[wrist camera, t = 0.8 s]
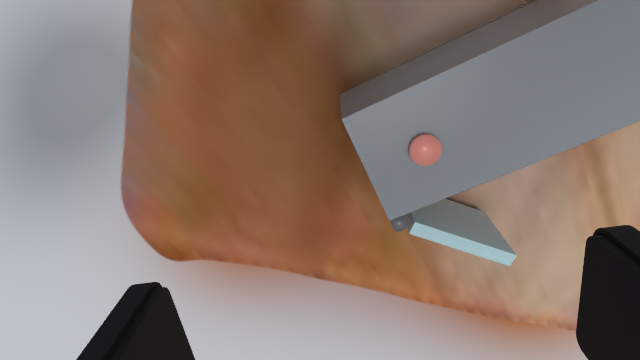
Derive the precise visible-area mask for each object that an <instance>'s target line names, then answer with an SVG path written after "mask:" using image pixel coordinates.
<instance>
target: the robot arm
mask: <svg viewBox="0 0 640 360" xmlns="http://www.w3.org/2000/svg"><path fill="white" fill-rule="evenodd" d="M576 337H577V341H578V344H579V346H580V348H581V350H582V352H583V353H584V354H585V356H586V357H587V358H588V360H640V231H638V230H637V229H635V228H634V227H632V226H630V225H622V226H614V227H606V228H599V229H597V230H596V231H595V232H594V234H593V236H590V237H588V239H587V241H586V247H585V256H584V265H583V274H582V283H581V292H580V302H579V311H578V320H577V329H576ZM77 360H195V358H194V355H193V353H192V350H191V347H190V345H189V342H188V339H187V337H186V334H185V331H184V329H183V326H182V324H181V321H180V318H179V315H178V313H177V310H176V308H175V305H174V303H173V300H172V297H171V294H170V292H169V290H168V289H167V288H165V287H163V288H162V286H161V285H160V284H159V283H158V282H152V283H143V284H135V285H132V286H130V287H129V288H128V289H127V291H126V292H125V293H124V295H123V296H122V298H121V299H120V300H119V302H118V303H117V304H116V306H115V307H114V309H113V310H112V311H111V313H110V314H109V316H108V317H107V318H106V320H105V321H104V323H103V324H102V325H101V327H100V328H99V329H98V331H97V332H96V333H95V335H94V336H93V338H92V339H91V340H90V342H89V343H88V344H87V346H86V347H85V349H84V350H83V351H82V353H81V354H80V356H79V357H78V358H77Z"/></svg>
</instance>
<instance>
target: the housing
mask: <svg viewBox="0 0 640 360" xmlns="http://www.w3.org/2000/svg"><path fill="white" fill-rule="evenodd" d="M339 99H340V109H341V119H342V121H343V124H344V126H345V128H346V130H347V132H348V134H349V136H350V138H351V140H352V143H353V145H354V147H355V149H356V151H357V153H358V155H359V157H360V160H361V162H362V164H363V166H364V168H365V170H366V172H367V174H368V176H369V179H370V181H371V183H372V185H373V187H374V189H375V191H376V193H377V196H378V198H379V200H380V202H381V204H382V206H383V208H384V210H385V212H386V215H387V217H388V219H389V221H390V220H391V224H392V227H393V229H394V230H396V231H402V230H404V229H405V228H406V225H407V224H406V221H405V218H404V215H405V214H408V213H410V212H413V211H415V210H418V209H420V208H423V207H425V206H428V205H430V204H433V203H435V202H438V201H440V200H443V199H445V198H448V197H450V196H453V195H455V194H458V193H460V192H463V191H465V190H468V189H470V188H473V187H475V186H478V185H480V184H483V183H485V182H488V181H490V180H493V179H495V178H498V177H500V176H503V175H505V174H508V173H510V172H513V171H515V170H518V169H520V168H523V167H525V166H528V165H530V164H533V163H535V162H538V161H540V160H543V159H545V158H548V157H550V156H553V155H555V154H558V153H560V152H563V151H565V150H568V149H570V148H573V147H575V146H578V145H580V144H583V143H585V142H588V141H590V140H593V139H595V138H598V137H600V136H603V135H605V134H608V133H610V132H613V131H615V130H618V129H620V128H623V127H625V126H628V125H630V124H633V123H635V122H638V121H640V0H536V1H534V2H532V3H530V4H528V5H526V6H524V7H521V8H519V9H517V10H515V11H513V12H511V13H509V14H507V15H505V16H503V17H500V18H498V19H496V20H494V21H492V22H490V23H488V24H486V25H484V26H482V27H479V28H477V29H475V30H473V31H471V32H469V33H467V34H465V35H463V36H461V37H458V38H456V39H454V40H452V41H450V42H448V43H446V44H444V45H442V46H440V47H437V48H435V49H433V50H431V51H429V52H427V53H425V54H423V55H421V56H419V57H416V58H414V59H412V60H410V61H408V62H406V63H404V64H402V65H400V66H398V67H396V68H393V69H391V70H389V71H387V72H385V73H383V74H381V75H379V76H377V77H375V78H372V79H370V80H368V81H366V82H364V83H362V84H360V85H358V86H356V87H354V88H351V89H349V90H347V91H345V92H343V93H341V94H339Z"/></svg>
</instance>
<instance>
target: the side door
mask: <svg viewBox="0 0 640 360" xmlns="http://www.w3.org/2000/svg"><path fill="white" fill-rule="evenodd" d="M404 218H405V221H406V224H407V225H406V226H407V229H408V232H409V234H412V235H415V236H418V237H421V238H424V239H427V240H430V241H434V242H437V243H440V244H443V245H446V246H449V247H452V248H455V249H458V250H461V251H465V252H468V253H471V254H474V255H477V256H480V257H483V258H486V259H489V260H492V261H496V262H499V263H502V264H505V265H508V266H510V265H511V263H512V262H513V260H514V259H515V257H516V254H515V252H514V251H513V250H512V248H511V247H510V246H509V244H508V243H507V242H506V240H505V239H504V238H503V236H502V235H501V234H500V232H499V231H498V230H497V228H496V227H495V226H494V224H493V223H492V222H491V221H490V219H489V218H488V217H487V215H486V214H485V213H484V212H483V211H480V210H478V209H475V208H472V207H469V206H466V205H463V204H460V203H457V202H454V201H451V200H448V199H443V200H440V201H438V202H435V203H433V204H430V205H428V206H425V207H423V208H420V209H418V210H415V211H413V212H410V213H408V214H405V215H404Z"/></svg>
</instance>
